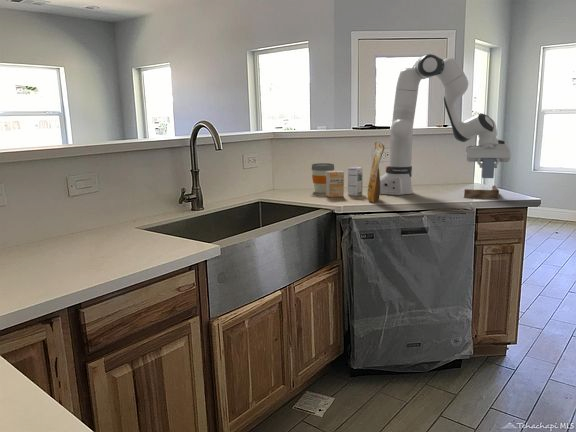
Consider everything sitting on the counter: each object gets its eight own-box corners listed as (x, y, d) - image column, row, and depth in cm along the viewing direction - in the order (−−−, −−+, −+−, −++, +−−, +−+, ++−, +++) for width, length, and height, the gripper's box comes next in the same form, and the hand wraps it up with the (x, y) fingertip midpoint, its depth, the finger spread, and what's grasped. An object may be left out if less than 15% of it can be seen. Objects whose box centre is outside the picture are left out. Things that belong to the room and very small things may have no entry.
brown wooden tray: (464, 197, 226) (464, 189, 225) (462, 192, 242) (463, 184, 241) (498, 198, 222) (499, 190, 221) (494, 193, 237) (495, 185, 236)
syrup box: (357, 196, 236) (357, 168, 233) (347, 195, 239) (347, 167, 236) (362, 194, 240) (363, 167, 237) (352, 193, 244) (353, 166, 241)
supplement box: (329, 197, 232) (329, 172, 229) (325, 196, 236) (325, 171, 233) (344, 196, 234) (344, 171, 231) (340, 195, 238) (340, 170, 236)
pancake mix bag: (380, 196, 233) (381, 141, 227) (383, 203, 214) (384, 143, 208) (366, 196, 234) (367, 141, 228) (368, 203, 215) (369, 143, 209)
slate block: (482, 178, 224) (483, 159, 222) (481, 176, 229) (482, 158, 227) (493, 178, 223) (494, 159, 221) (492, 176, 227) (493, 158, 226)
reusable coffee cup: (338, 192, 249) (338, 164, 245) (317, 193, 244) (317, 166, 241) (328, 189, 260) (328, 162, 257) (308, 190, 255) (307, 163, 252)
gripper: (466, 141, 232) (466, 162, 225) (510, 141, 226) (511, 163, 219) (465, 150, 237) (465, 170, 230) (508, 150, 231) (509, 171, 224)
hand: (488, 167), depth 224 cm, fingers closed on slate block, 5 cm apart
